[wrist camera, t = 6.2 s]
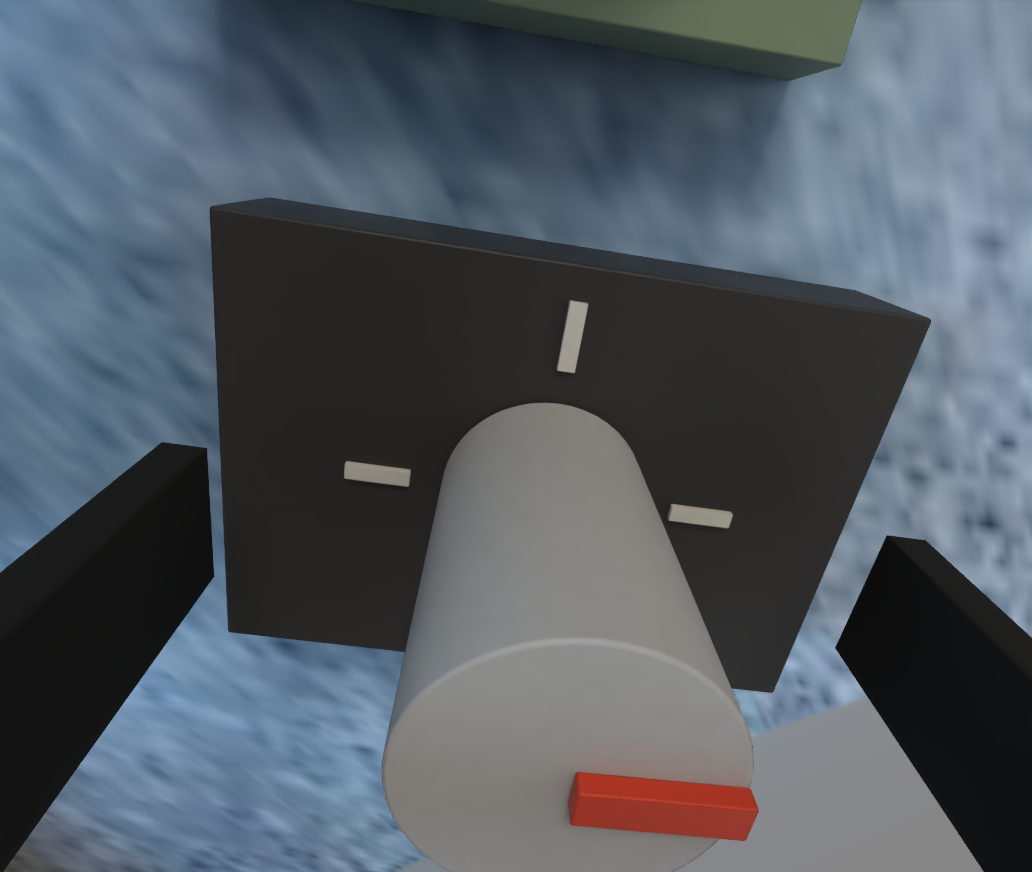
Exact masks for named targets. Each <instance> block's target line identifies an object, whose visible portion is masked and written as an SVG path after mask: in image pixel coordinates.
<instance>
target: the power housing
mask: <svg viewBox="0 0 1032 872" xmlns="http://www.w3.org/2000/svg"><path fill="white" fill-rule="evenodd" d="M351 1H356V2H362V3H367V4H373V5H378V6H384V7H389V8H395V9H400V10H406V11H411V12H417V13H423V14H428V15H434V16H439V17H445V18H450V19H456V20H461V21H467V22H472V23H478V24H483V25H489V26H494V27H500V28H505V29H511V30H516V31H522V32H527V33H533V34H538V35H544V36H550V37H555V38H561V39H566V40H572V41H577V42H583V43H588V44H594V45H599V46H605V47H610V48H616V49H621V50H627V51H632V52H638V53H643V54H649V55H654V56H660V57H665V58H671V59H677V60H682V61H688V62H693V63H699V64H704V65H710V66H715V67H721V68H726V69H732V70H737V71H743V72H748V73H754V74H759V75H765V76H770V77H776V78H781V79H787V80H793V79H796V78H800V77H803V76H807V75H810V74H814V73H817V72H820V71H824V70H827V69H831V68H834V67H838V66H840V65H841V64H842V62H843V59H844V55H845V52H846V49H847V46H848V43H849V39H850V36H851V33H852V30H853V27H854V24H855V20H856V17H857V14H858V11H859V8H860V5H861V1H862V0H351Z"/></svg>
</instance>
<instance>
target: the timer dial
mask: <svg viewBox="0 0 1032 872" xmlns="http://www.w3.org/2000/svg"><path fill="white" fill-rule="evenodd" d="M753 767H754V759H753V745H752V741H751V737H750V733H749V729H748V727H747V724H746V722H745V720H744V717H743V715H742V712H741V710H740V708H739V705H738V703H737V700H736V698H735V696H734V693H733V691H732V688H731V686H730V684H729V681H728V679H727V676H726V674H725V672H724V669H723V667H722V664H721V662H720V660H719V657H718V655H717V652H716V650H715V648H714V645H713V643H712V641H711V638H710V636H709V633H708V631H707V629H706V626H705V624H704V621H703V619H702V617H701V614H700V612H699V609H698V607H697V605H696V602H695V600H694V597H693V595H692V593H691V590H690V588H689V585H688V583H687V581H686V578H685V576H684V573H683V571H682V569H681V566H680V564H679V561H678V559H677V557H676V554H675V552H674V549H673V547H672V545H671V542H670V540H669V537H668V535H667V533H666V530H665V528H664V525H663V523H662V521H661V518H660V516H659V513H658V511H657V509H656V506H655V504H654V501H653V499H652V497H651V494H650V492H649V489H648V487H647V485H646V482H645V480H644V477H643V475H642V473H641V470H640V468H639V465H638V463H637V461H636V458H635V456H634V454H633V452H632V450H631V449H630V447H629V445H628V444H627V442H626V441H625V440H624V439H623V437H622V436H621V435H620V434H619V433H618V432H617V431H616V430H615V429H614V428H613V427H611V426H610V425H609V424H608V423H606V422H605V421H603V420H602V419H600V418H599V417H597V416H595V415H593V414H591V413H589V412H587V411H585V410H582V409H579V408H576V407H573V406H568V405H563V404H556V403H530V404H525V405H519V406H515V407H512V408H508V409H505V410H502V411H500V412H498V413H496V414H494V415H491V416H490V417H488V418H486V419H485V420H483V421H481V422H480V423H479V424H477V425H476V426H475V427H474V428H472V429H471V430H470V431H469V432H468V433H467V434H466V435H465V436H464V437H463V438H462V439H461V440H460V442H459V443H458V445H457V446H456V447H455V449H454V450H453V452H452V454H451V456H450V458H449V460H448V462H447V465H446V468H445V471H444V475H443V479H442V484H441V488H440V493H439V498H438V502H437V507H436V512H435V516H434V521H433V525H432V530H431V535H430V539H429V544H428V549H427V553H426V558H425V562H424V567H423V572H422V576H421V581H420V586H419V590H418V595H417V599H416V604H415V609H414V613H413V618H412V623H411V627H410V632H409V636H408V641H407V646H406V650H405V655H404V660H403V664H402V669H401V674H400V678H399V683H398V687H397V692H396V697H395V701H394V706H393V711H392V715H391V720H390V724H389V729H388V734H387V738H386V743H385V748H384V754H383V759H382V783H383V788H384V793H385V798H386V801H387V804H388V806H389V809H390V811H391V814H392V816H393V818H394V820H395V821H396V823H397V824H398V826H399V828H400V829H401V831H402V832H403V833H404V835H405V836H406V837H407V838H408V839H409V840H410V842H411V843H412V844H413V845H414V846H415V847H416V848H417V849H419V850H420V851H421V852H422V853H423V854H424V855H425V856H426V857H428V858H429V859H431V860H432V861H434V862H435V863H436V864H438V865H439V866H441V867H443V868H444V869H446V870H448V871H450V872H674V871H676V870H678V869H680V868H682V867H683V866H685V865H686V864H688V863H690V862H691V861H693V860H694V859H696V858H697V857H699V856H700V855H701V854H703V853H704V852H705V851H706V850H708V849H709V848H710V847H711V846H713V845H714V844H715V843H716V842H717V841H718V840H719V839H728V840H740V841H744V840H746V839H747V836H748V834H749V832H750V830H751V827H752V825H753V823H754V821H755V818H756V816H757V814H758V807H757V804H756V802H755V799H754V796H753V794H752V791H751V789H750V787H751V782H752V775H753Z"/></svg>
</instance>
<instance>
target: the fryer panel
mask: <svg viewBox="0 0 1032 872" xmlns="http://www.w3.org/2000/svg"><path fill="white" fill-rule="evenodd" d="M210 225H211V248H212V271H213V294H214V317H215V340H216V362H217V385H218V408H219V431H220V454H221V477H222V500H223V523H224V546H225V569H226V592H227V615H228V631H229V632H232V633H241V634H250V635H259V636H268V637H277V638H286V639H295V640H304V641H313V642H322V643H331V644H340V645H349V646H358V647H367V648H376V649H384V650H393V651H402V652H405V650H406V646H407V641H408V636H409V632H410V627H411V623H412V618H413V613H414V609H415V604H416V599H417V595H418V590H419V586H420V581H421V576H422V572H423V567H424V562H425V558H426V553H427V549H428V544H429V539H430V535H431V530H432V525H433V521H434V516H435V512H436V507H437V502H438V498H439V493H440V488H441V484H442V479H443V475H444V471H445V468H446V465H447V462H448V460H449V458H450V456H451V454H452V452H453V450H454V449H455V447H456V446H457V445H458V443H459V442H460V440H461V439H462V438H463V437H464V436H465V435H466V434H467V433H468V432H469V431H470V430H471V429H472V428H474V427H475V426H476V425H477V424H479V423H480V422H481V421H483V420H485V419H486V418H488V417H490V416H491V415H494V414H496V413H498V412H500V411H502V410H505V409H508V408H512V407H515V406H519V405H525V404H530V403H556V404H563V405H568V406H573V407H576V408H579V409H582V410H585V411H587V412H589V413H591V414H593V415H595V416H597V417H599V418H600V419H602V420H603V421H605V422H606V423H608V424H609V425H610V426H611V427H613V428H614V429H615V430H616V431H617V432H618V433H619V434H620V435H621V436H622V437H623V439H624V440H625V441H626V442H627V444H628V445H629V447H630V449H631V450H632V452H633V454H634V456H635V458H636V461H637V463H638V465H639V468H640V470H641V473H642V475H643V477H644V480H645V482H646V485H647V487H648V489H649V492H650V494H651V497H652V499H653V501H654V504H655V506H656V509H657V511H658V513H659V516H660V518H661V521H662V523H663V525H664V528H665V530H666V533H667V535H668V537H669V540H670V542H671V545H672V547H673V549H674V552H675V554H676V557H677V559H678V561H679V564H680V566H681V569H682V571H683V573H684V576H685V578H686V581H687V583H688V585H689V588H690V590H691V593H692V595H693V597H694V600H695V602H696V605H697V607H698V609H699V612H700V614H701V617H702V619H703V621H704V624H705V626H706V629H707V631H708V633H709V636H710V638H711V641H712V643H713V645H714V648H715V650H716V652H717V655H718V657H719V660H720V662H721V664H722V667H723V669H724V672H725V674H726V676H727V679H728V681H729V684H730V686H731V688H733V689H742V690H751V691H760V692H769V693H772V692H773V691H774V689H775V686H776V684H777V682H778V679H779V677H780V675H781V672H782V670H783V668H784V665H785V663H786V661H787V658H788V656H789V654H790V651H791V649H792V647H793V644H794V642H795V640H796V637H797V635H798V633H799V630H800V628H801V626H802V623H803V621H804V619H805V616H806V614H807V611H808V609H809V607H810V604H811V602H812V600H813V597H814V595H815V593H816V590H817V588H818V586H819V583H820V581H821V579H822V576H823V574H824V572H825V569H826V567H827V565H828V562H829V560H830V558H831V555H832V553H833V551H834V548H835V546H836V544H837V541H838V539H839V537H840V534H841V532H842V530H843V527H844V525H845V522H846V520H847V518H848V515H849V513H850V511H851V508H852V506H853V504H854V501H855V499H856V497H857V494H858V492H859V490H860V487H861V485H862V483H863V480H864V478H865V476H866V473H867V471H868V469H869V466H870V464H871V462H872V459H873V457H874V455H875V452H876V450H877V448H878V445H879V443H880V441H881V438H882V436H883V433H884V431H885V429H886V426H887V424H888V422H889V419H890V417H891V415H892V412H893V410H894V408H895V405H896V403H897V401H898V398H899V396H900V394H901V391H902V389H903V387H904V384H905V382H906V380H907V377H908V375H909V373H910V370H911V368H912V366H913V363H914V361H915V359H916V356H917V354H918V351H919V349H920V347H921V344H922V342H923V340H924V337H925V335H926V333H927V330H928V328H929V326H930V323H931V320H930V319H929V318H927V317H924V316H922V315H919V314H916V313H914V312H911V311H908V310H906V309H903V308H901V307H898V306H895V305H893V304H890V303H887V302H885V301H882V300H879V299H877V298H874V297H871V296H869V295H866V294H863V293H861V292H858V291H856V290H849V289H843V288H837V287H830V286H824V285H818V284H812V283H805V282H799V281H793V280H786V279H780V278H774V277H767V276H761V275H755V274H748V273H742V272H736V271H730V270H723V269H717V268H711V267H704V266H698V265H692V264H685V263H679V262H673V261H666V260H660V259H654V258H648V257H641V256H635V255H629V254H622V253H616V252H610V251H603V250H597V249H591V248H584V247H578V246H572V245H566V244H559V243H553V242H547V241H540V240H534V239H528V238H521V237H515V236H509V235H502V234H496V233H490V232H484V231H477V230H471V229H465V228H458V227H452V226H446V225H439V224H433V223H427V222H420V221H414V220H408V219H402V218H395V217H389V216H383V215H376V214H370V213H364V212H357V211H351V210H345V209H338V208H332V207H326V206H320V205H313V204H307V203H301V202H294V201H288V200H282V199H275V198H263V199H256V200H250V201H243V202H237V203H230V204H224V205H217V206H212V207H211V208H210Z"/></svg>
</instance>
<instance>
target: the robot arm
mask: <svg viewBox="0 0 1032 872" xmlns="http://www.w3.org/2000/svg"><path fill="white" fill-rule="evenodd" d="M213 577H214V567H213V549H212V532H211V514H210V496H209V479H208V461H207V448H202V447H194V446H187V445H179V444H171V443H163V442H162V443H160V444H159V445H158V446H157V447H155V448H154V449H153V450H152V451H150V452H149V453H148V454H147V455H145V456H144V457H143V458H142V459H141V460H139V461H138V462H137V463H136V464H134V465H133V466H132V467H131V468H129V469H128V470H127V471H126V472H124V473H123V474H122V475H121V476H119V477H118V478H117V479H116V480H114V481H113V482H112V483H111V484H110V485H108V486H107V487H106V488H105V489H103V490H102V491H101V492H100V493H98V494H97V495H96V496H95V497H93V498H92V499H91V500H90V501H88V502H87V503H86V504H85V505H84V506H82V507H81V508H80V509H79V510H77V511H76V512H75V513H74V514H72V515H71V516H70V517H69V518H67V519H66V520H65V521H64V522H62V523H61V524H60V525H59V526H57V527H56V528H55V529H54V530H53V531H51V532H50V533H49V534H48V535H46V536H45V537H44V538H43V539H41V540H40V541H39V542H38V543H36V544H35V545H34V546H33V547H31V548H30V549H29V550H28V551H26V552H25V553H24V554H23V555H22V556H20V557H19V558H18V559H17V560H15V561H14V562H13V563H12V564H10V565H9V566H8V567H7V568H5V569H4V570H3V571H2V572H0V872H3V871H4V870H5V868H6V867H7V866H8V864H9V863H10V861H11V860H12V859H13V857H14V856H15V854H16V853H17V852H18V850H19V849H20V847H21V846H22V845H23V843H24V842H25V840H26V839H27V838H28V836H29V835H30V833H31V832H32V831H33V829H34V828H35V826H36V825H37V824H38V822H39V821H40V819H41V818H42V817H43V815H44V814H45V812H46V811H47V810H48V808H49V807H50V805H51V804H52V803H53V801H54V800H55V798H56V797H57V796H58V794H59V793H60V791H61V790H62V789H63V787H64V786H65V784H66V783H67V782H68V780H69V779H70V777H71V776H72V775H73V773H74V772H75V770H76V769H77V768H78V766H79V765H80V763H81V762H82V761H83V759H84V758H85V756H86V755H87V754H88V752H89V751H90V749H91V748H92V747H93V745H94V744H95V742H96V741H97V740H98V738H99V737H100V735H101V734H102V733H103V731H104V730H105V728H106V727H107V726H108V724H109V723H110V721H111V720H112V719H113V717H114V716H115V714H116V713H117V712H118V710H119V709H120V707H121V706H122V705H123V703H124V702H125V700H126V699H127V698H128V696H129V695H130V693H131V692H132V691H133V689H134V688H135V686H136V685H137V684H138V682H139V681H140V679H141V678H142V677H143V675H144V674H145V672H146V671H147V670H148V668H149V667H150V665H151V664H152V663H153V661H154V660H155V658H156V657H157V656H158V654H159V653H160V651H161V650H162V649H163V647H164V646H165V644H166V643H167V642H168V640H169V639H170V637H171V636H172V635H173V633H174V632H175V630H176V629H177V628H178V626H179V625H180V623H181V622H182V621H183V619H184V618H185V616H186V615H187V614H188V612H189V611H190V609H191V608H192V607H193V605H194V604H195V602H196V601H197V600H198V598H199V597H200V595H201V594H202V593H203V591H204V590H205V588H206V587H207V586H208V584H209V583H210V581H211V580H212V579H213ZM835 648H836V650H837V651H838V653H839V654H840V656H841V657H842V659H843V660H844V662H845V663H846V665H847V666H848V668H849V669H850V671H851V672H852V674H853V675H854V677H855V678H856V680H857V681H858V683H859V684H860V686H861V688H862V689H863V691H864V692H865V694H866V695H867V697H868V698H869V700H870V701H871V703H872V704H873V705H874V707H875V708H876V710H877V712H878V713H879V715H880V716H881V718H882V719H883V720H884V722H885V724H886V725H887V727H888V728H889V729H890V731H891V733H892V734H893V736H894V737H895V739H896V740H897V742H898V743H899V745H900V746H901V748H902V749H903V751H904V752H905V754H906V755H907V757H908V758H909V760H910V761H911V763H912V764H913V766H914V767H915V769H916V770H917V772H918V773H919V774H920V776H921V778H922V779H923V781H924V782H925V784H926V785H927V787H928V788H929V790H930V791H931V793H932V794H933V795H934V797H935V799H936V800H937V802H938V803H939V805H940V806H941V808H942V809H943V811H944V812H945V814H946V815H947V817H948V818H949V820H950V821H951V823H952V824H953V826H954V827H955V829H956V831H957V832H958V834H959V835H960V836H961V838H962V839H963V841H964V843H965V844H966V846H967V847H968V849H969V850H970V852H971V853H972V855H973V856H974V858H975V859H976V861H977V862H978V864H979V865H980V867H981V868H982V870H983V871H984V872H1032V638H1031V637H1030V636H1029V635H1028V634H1027V633H1026V632H1025V631H1024V630H1023V629H1021V628H1020V627H1019V626H1018V625H1017V624H1016V623H1015V622H1014V621H1013V620H1012V619H1011V618H1009V617H1008V616H1007V615H1006V614H1005V613H1004V612H1003V611H1002V610H1001V609H1000V608H999V607H998V606H996V605H995V604H994V603H993V602H992V601H991V600H990V599H989V598H988V597H987V596H986V595H984V594H983V593H982V592H981V591H980V590H979V589H978V588H977V587H976V586H975V585H974V584H972V583H971V582H970V581H969V580H968V579H967V578H966V577H965V576H964V575H963V574H962V573H960V572H959V571H958V570H957V569H956V568H955V567H954V566H953V565H952V564H951V563H950V562H948V561H947V560H946V559H945V558H944V557H943V556H942V555H941V554H940V553H939V552H938V551H936V550H935V549H934V548H933V547H932V546H931V545H930V544H929V543H928V542H927V541H926V540H919V539H911V538H903V537H895V536H886V539H885V541H884V543H883V545H882V547H881V550H880V552H879V554H878V556H877V558H876V560H875V563H874V565H873V567H872V569H871V571H870V573H869V576H868V578H867V580H866V582H865V584H864V587H863V589H862V591H861V593H860V595H859V597H858V600H857V602H856V604H855V606H854V608H853V610H852V613H851V615H850V617H849V619H848V621H847V624H846V626H845V628H844V630H843V632H842V634H841V637H840V639H839V641H838V643H837V645H836V647H835Z"/></svg>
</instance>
